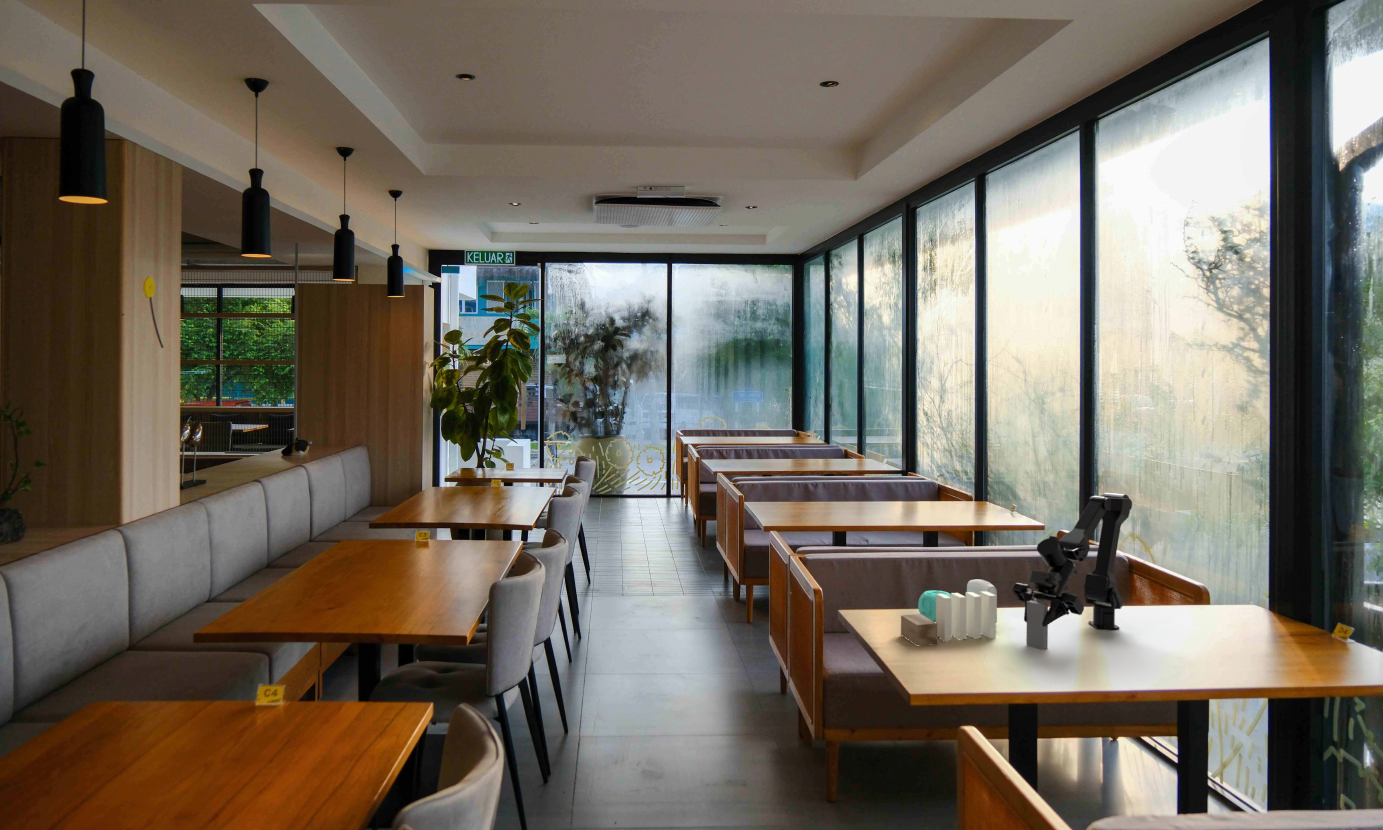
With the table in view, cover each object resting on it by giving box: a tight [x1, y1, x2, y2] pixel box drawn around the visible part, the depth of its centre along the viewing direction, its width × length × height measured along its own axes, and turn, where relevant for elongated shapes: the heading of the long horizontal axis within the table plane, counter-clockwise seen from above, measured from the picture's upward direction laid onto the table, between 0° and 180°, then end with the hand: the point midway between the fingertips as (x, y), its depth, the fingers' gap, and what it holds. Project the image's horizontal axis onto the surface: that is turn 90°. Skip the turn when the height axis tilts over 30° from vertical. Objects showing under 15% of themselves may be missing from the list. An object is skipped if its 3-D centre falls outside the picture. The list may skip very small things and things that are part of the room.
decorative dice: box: [917, 589, 951, 622], centre depth 254 cm, size 8×8×8 cm
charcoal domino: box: [1025, 600, 1049, 651], centre depth 227 cm, size 2×5×12 cm, turn 35°
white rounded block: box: [966, 578, 998, 624], centre depth 252 cm, size 10×4×12 cm, turn 20°
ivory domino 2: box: [950, 592, 967, 641], centre depth 235 cm, size 2×5×12 cm, turn 11°
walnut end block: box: [900, 613, 938, 646], centre depth 233 cm, size 6×10×6 cm, turn 11°
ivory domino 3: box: [965, 591, 982, 640], centre depth 236 cm, size 2×5×12 cm, turn 11°
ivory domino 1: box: [936, 594, 952, 642], centre depth 235 cm, size 2×5×12 cm, turn 11°
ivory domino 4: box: [980, 591, 997, 639], centre depth 237 cm, size 2×5×12 cm, turn 11°
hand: (1034, 623), depth 226 cm, fingers closed on charcoal domino, 5 cm apart
